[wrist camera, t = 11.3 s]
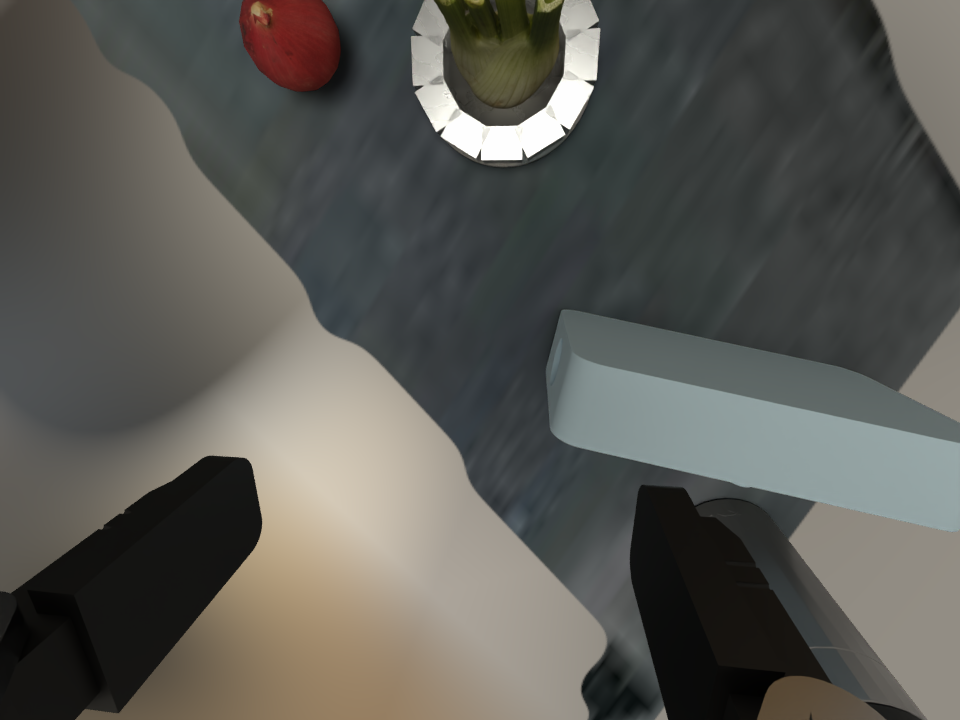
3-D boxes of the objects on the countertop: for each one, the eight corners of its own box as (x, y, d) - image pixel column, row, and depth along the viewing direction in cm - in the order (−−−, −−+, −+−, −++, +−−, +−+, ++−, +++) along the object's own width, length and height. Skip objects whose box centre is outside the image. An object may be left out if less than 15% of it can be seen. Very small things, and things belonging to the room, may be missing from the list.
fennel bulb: (562, 64, 29) (581, -27, 18) (520, 133, 31) (512, 90, 20) (490, 10, 29) (462, -118, 18) (451, 84, 31) (402, 9, 19)
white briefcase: (542, 372, 38) (547, 453, 25) (559, 306, 36) (574, 359, 23) (819, 433, 37) (968, 549, 24) (852, 369, 35) (1033, 459, 22)
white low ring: (623, 107, 31) (634, 94, 27) (475, 199, 34) (469, 198, 30) (543, -77, 28) (544, -115, 25) (390, 41, 31) (372, 21, 28)
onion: (288, 106, 33) (216, 75, 26) (273, 14, 31) (190, -49, 24) (363, 99, 32) (311, 65, 25) (351, 4, 31) (292, -63, 23)
